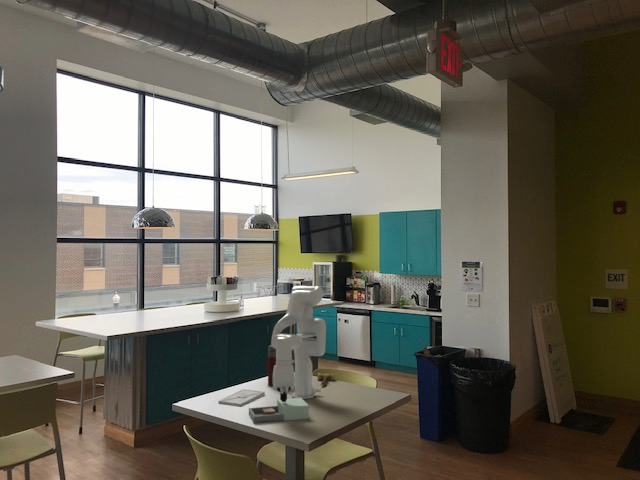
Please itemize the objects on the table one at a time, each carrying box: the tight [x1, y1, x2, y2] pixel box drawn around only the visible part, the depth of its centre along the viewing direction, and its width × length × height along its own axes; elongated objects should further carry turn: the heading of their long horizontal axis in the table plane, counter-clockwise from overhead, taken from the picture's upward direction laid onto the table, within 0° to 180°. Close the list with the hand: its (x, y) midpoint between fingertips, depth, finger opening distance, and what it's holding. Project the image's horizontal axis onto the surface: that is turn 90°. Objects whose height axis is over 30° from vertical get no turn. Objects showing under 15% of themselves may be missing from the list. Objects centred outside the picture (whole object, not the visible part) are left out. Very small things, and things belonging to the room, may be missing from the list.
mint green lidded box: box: [276, 397, 310, 422], centre depth 249 cm, size 12×14×6 cm
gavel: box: [317, 372, 335, 388], centre depth 311 cm, size 21×5×10 cm
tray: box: [248, 405, 285, 424], centre depth 245 cm, size 14×14×3 cm
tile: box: [262, 408, 275, 415], centre depth 244 cm, size 5×5×3 cm
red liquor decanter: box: [265, 344, 276, 387], centre depth 309 cm, size 9×11×28 cm
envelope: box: [217, 388, 266, 407], centre depth 277 cm, size 24×2×14 cm
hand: (283, 401), depth 248 cm, fingers closed
